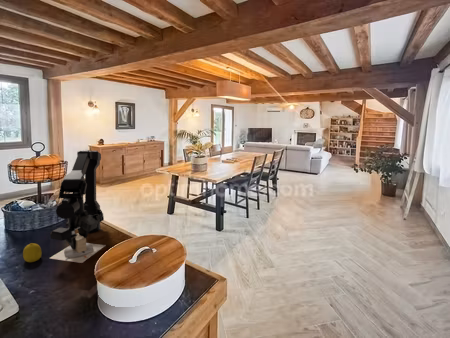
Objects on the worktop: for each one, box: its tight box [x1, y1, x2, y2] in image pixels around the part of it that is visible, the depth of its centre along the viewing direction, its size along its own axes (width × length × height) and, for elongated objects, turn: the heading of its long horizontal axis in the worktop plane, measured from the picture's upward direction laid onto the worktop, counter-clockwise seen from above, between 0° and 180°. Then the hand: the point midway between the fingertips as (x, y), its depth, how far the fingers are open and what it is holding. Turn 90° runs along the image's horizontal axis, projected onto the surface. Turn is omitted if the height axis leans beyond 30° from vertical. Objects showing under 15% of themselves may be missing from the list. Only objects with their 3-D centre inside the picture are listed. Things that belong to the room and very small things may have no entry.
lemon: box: [22, 242, 43, 263], centre depth 96 cm, size 6×6×8 cm
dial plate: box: [49, 242, 106, 264], centre depth 103 cm, size 14×14×2 cm
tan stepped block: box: [63, 232, 93, 257], centre depth 102 cm, size 10×10×6 cm
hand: (78, 246), depth 102 cm, fingers closed on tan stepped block, 4 cm apart
